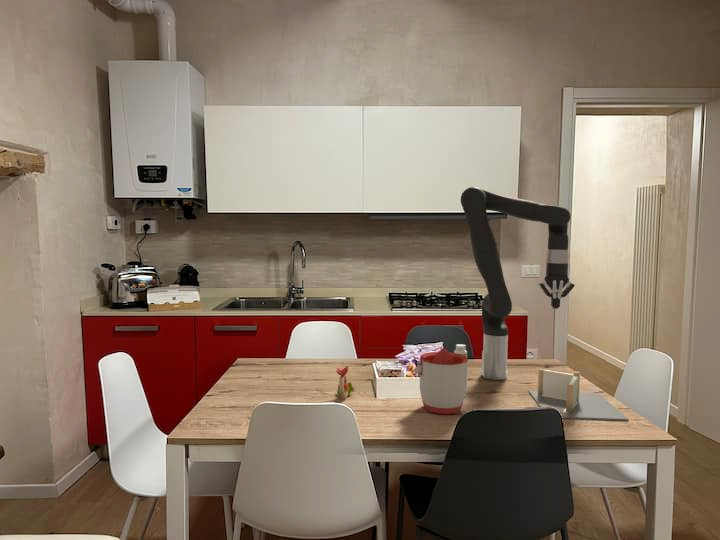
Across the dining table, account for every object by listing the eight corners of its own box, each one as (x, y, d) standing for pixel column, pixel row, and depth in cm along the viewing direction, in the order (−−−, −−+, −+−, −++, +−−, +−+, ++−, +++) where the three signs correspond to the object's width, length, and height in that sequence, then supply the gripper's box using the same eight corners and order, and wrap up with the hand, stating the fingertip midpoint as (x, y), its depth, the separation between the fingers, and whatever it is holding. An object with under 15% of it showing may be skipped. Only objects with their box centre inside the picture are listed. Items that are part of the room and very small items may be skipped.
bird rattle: (353, 405, 177) (355, 387, 185) (351, 380, 172) (354, 363, 180) (335, 405, 178) (337, 387, 186) (333, 380, 173) (336, 362, 180)
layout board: (548, 418, 162) (548, 415, 161) (528, 392, 186) (528, 390, 186) (628, 421, 160) (628, 418, 160) (598, 394, 184) (598, 392, 184)
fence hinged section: (571, 401, 175) (572, 375, 174) (578, 402, 174) (579, 376, 173) (565, 411, 165) (566, 384, 164) (572, 412, 164) (573, 385, 163)
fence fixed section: (579, 401, 176) (580, 372, 175) (577, 402, 174) (579, 373, 173) (538, 393, 183) (539, 365, 182) (536, 395, 182) (538, 366, 181)
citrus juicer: (411, 400, 177) (412, 342, 175) (462, 401, 177) (464, 343, 175) (414, 417, 162) (415, 353, 160) (470, 418, 161) (472, 354, 159)
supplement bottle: (467, 366, 220) (468, 344, 219) (466, 370, 214) (466, 347, 214) (454, 365, 221) (455, 343, 220) (452, 368, 216) (453, 346, 215)
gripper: (541, 262, 188) (539, 309, 190) (579, 262, 187) (577, 310, 189) (536, 260, 196) (534, 306, 197) (572, 261, 195) (570, 307, 196)
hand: (555, 308), depth 193 cm, fingers closed
